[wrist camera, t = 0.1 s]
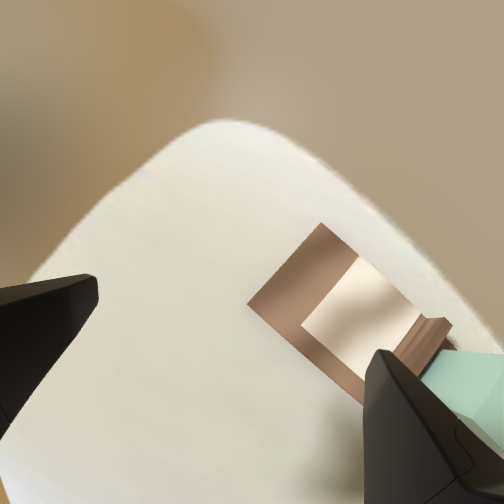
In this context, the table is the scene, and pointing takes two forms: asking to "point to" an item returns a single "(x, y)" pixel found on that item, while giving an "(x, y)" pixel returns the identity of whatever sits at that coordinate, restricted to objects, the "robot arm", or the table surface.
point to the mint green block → (470, 390)
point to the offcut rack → (345, 313)
